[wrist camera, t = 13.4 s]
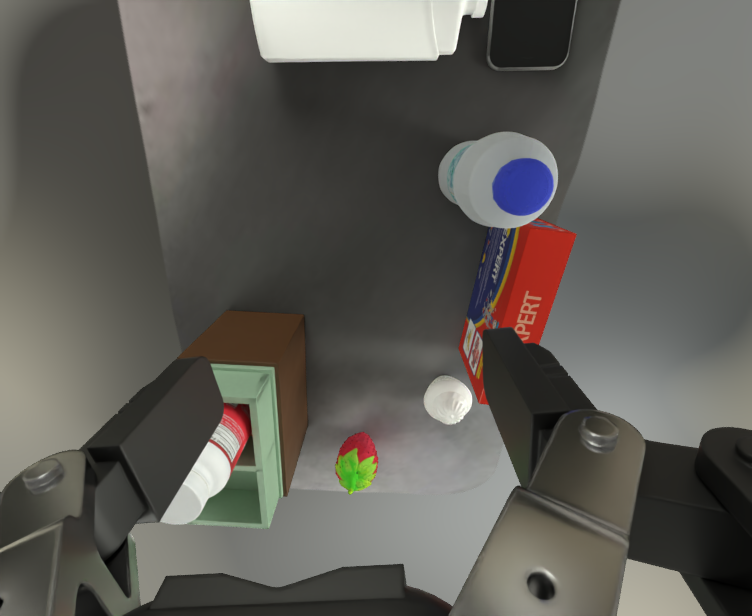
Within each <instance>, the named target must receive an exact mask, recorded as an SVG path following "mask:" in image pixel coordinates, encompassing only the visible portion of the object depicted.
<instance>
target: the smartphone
mask: <svg viewBox="0 0 752 616" xmlns="http://www.w3.org/2000/svg"><path fill="white" fill-rule="evenodd" d="M576 6H577V0H491V9H490V21H489V32H488V44H487V55H486V59H487V63H488V65H489V67H490V68H491V69H493V70H495V71H525V70H554V69H556V68H558V67H560V66H561V65H563V64H564V62H565V61H566V59H567V57H568V54H569V48H570V42H571V36H572V31H573V25H574V17H575V12H576Z"/></svg>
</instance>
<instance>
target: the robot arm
mask: <svg viewBox="0 0 752 616" xmlns="http://www.w3.org/2000/svg"><path fill="white" fill-rule="evenodd" d="M482 352H483V385H484V391H485V395H486V399H487V401H488V404H489V406H490V409H491V411H492V414H493V416H494V419H495V421H496V424H497V426H498V429H499V431H500V434H501V436H502V439H503V442H504V444H505V447H506V449H507V451H508V454H509V457H510V459H511V461H512V464H513V467H514V469H515V472H516V474H517V477H518V479H519V482H520V484H521V486H516V487H515V488H514V489H513V491H512V492H511V494H510V496H509V498H508V499H507V501H506V503H505V505H504V507H503V510H502V511H501V513H500V515H499V517H498V519H497V521H496V523H495V525H494V527H493V529H492V531H491V533H490V535H489V537H488V539H487V541H486V543H485V545H484V547H483V549H482V551H481V552H480V554H479V556H478V559H477V561H476V562H475V565H474V566H473V568H472V570H471V572H470V574H469V576H468V578H467V580H466V582H465V584H464V586H463V588H462V590H461V592H460V594H459V596H458V598H457V600H456V602H455V604H454V605H453V607H452V606H451V605H450V604H448V603H447V602H445V601H443V600H441V599H440V598H438V597H436V596H435V595H432V594H430V593H427V592H425V591H423V590H420V589H417V588H413V587H409V586H407V585H406V578H405V571H404V565H403V564H393V565H374V566H356V567H342V568H339V569H336V570H332V571H329V572H326V573H324V574H320V575H317V576H314V577H311V578H308V579H305V580H302V581H299V582H296V583H293V584H289V585H286V586H283V587H270V586H266V585H263V584H259V583H256V582H252V581H248V580H245V579H241V578H238V577H234V576H230V575H227V574H223V573H218V574H197V575H177V576H166V577H165V579H164V581H163V583H162V585H161V587H160V589H159V591H158V593H157V595H156V596H155V599H154V600H153V601H151V602H149V603H146V604H144V605H142V606H141V604H140V593H139V581H138V570H137V559H136V548H135V541H134V538H133V537H132V535H131V533H130V531H131V530H132V528H133V527H134V525H135V524H139V523H155V522H160V520H161V519H162V517H163V515H164V514H165V512H166V510H167V509H168V507H169V505H170V504H171V502H172V501H173V499H174V497H175V496H176V494H177V492H178V491H179V489H180V487H181V486H182V484H183V483H184V481H185V479H186V478H187V476H188V474H189V473H190V471H191V469H192V468H193V466H194V465H195V463H196V461H197V460H198V458H199V456H200V455H201V453H202V451H203V450H204V448H205V446H206V445H207V443H208V442H209V440H210V438H211V437H212V435H213V433H214V432H215V430H216V428H217V427H218V425H219V424H220V422H221V420H222V417H223V413H224V402H223V398H222V395H221V392H220V390H219V387H218V384H217V381H216V378H215V375H214V373H213V370H212V367H211V364H210V362H209V360H208V359H207V358H206V357H203V356H201V357H190V358H180V359H176V360H175V361H173V362H172V364H170V365H169V366H168V367H167V368H166V369H165V370H164V371H163V372H162V373H161V374H160V375H159V376H158V377H157V378H156V380H154V381H153V382H151V383H150V384H148V385H147V386H145V387H143V388H142V389H141V390H140V391H139V392H138V393H137V394H136V395H135V396H134V397H133V398H132V399H130V400H129V403H126V405H124V407H122V408H121V409H120V410H119V411H118V414H115V415H114V416H113V417H112V418H111V419H110V420H109V421H108V422H107V423H106V424H105V425H104V426H103V427H102V428H101V429H100V430H99V431H98V432H97V433H96V434H95V435H94V436H93V437H92V438H90V439H89V441H87V442H86V444H85V445H83V446H82V447H81V448H80V449H79V450H68V451H62V452H59V453H56V454H53V455H51V456H48V457H46V458H44V459H41V460H40V461H38V462H36V463H34V464H32V465H31V466H29V467H27V468H26V469H24V470H23V471H22V472H20V473H19V474H18V475H16V476H15V477H14V478H13V479H12V480H11V481H10V482H9V483H8V484H7V485H6V486H5V488H4V489H3V491H2V492H0V616H617V609H618V604H619V599H620V593H621V588H622V581H623V577H624V571H625V565H626V560H627V559H632V560H635V561H639V562H643V563H647V564H651V565H655V566H659V567H663V568H667V569H670V570H675V571H678V572H680V574H681V575H682V577H683V579H684V580H685V582H686V583H687V585H688V586H689V588H690V590H691V591H692V593H693V594H694V596H695V597H696V599H697V601H698V602H699V604H700V606H701V607H702V609H703V610H704V612H705V614H706V615H707V616H752V430H747V429H742V428H734V427H722V428H715V429H712V430H709V431H707V432H706V433H705V434H704V435H703V437H702V439H701V442H700V446H699V448H693V447H686V446H680V445H673V444H666V443H660V442H654V441H649V440H645V439H643V437H642V435H641V434H640V432H639V431H638V430H637V429H636V428H635V427H633V426H632V425H631V424H630V423H628V422H627V421H625V420H624V419H622V418H620V417H617V416H615V415H613V414H610V413H607V412H603V411H599V410H597V409H596V408H595V407H594V405H593V404H592V403H591V402H590V400H589V399H588V398H587V397H586V395H585V394H584V393H583V392H582V390H581V389H580V388H579V387H578V385H577V384H576V383H575V382H574V380H573V379H572V378H571V377H570V376H568V373H567V372H566V371H565V370H564V368H563V367H562V366H560V364H559V362H558V361H557V359H556V358H555V357H554V356H553V355H552V353H551V352H550V351H548V350H546V349H545V348H543V347H541V346H539V345H538V344H536V343H523V341H522V340H521V339H520V337H519V336H518V334H517V333H516V332H515V330H514V329H513V328H512V327H504V328H494V329H484V330H483V335H482Z"/></svg>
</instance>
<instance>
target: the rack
mask: <svg viewBox="0 0 752 616" xmlns="http://www.w3.org/2000/svg"><path fill="white" fill-rule="evenodd" d="M201 356H203V357H206V358H207V359H208V360H209V362H210V364H211V367H212V370H213V373H214V375H215V378H216V381H217V384H218V387H219V390H220V392H221V395H222V398H223V402H224V403H239V404H249V407H250V417H251V426H252V432H251V434H250V436H249V438H248V441H247V443H246V445H245V447H244V449H243V451H242V453H241V455H240V457H239V459H238V461H237V463H236V465H235V467H234V469H233V471H232V473H231V476H230V478H229V480H228V481H227V483H226V485H225V486H224V488H223V489H222V490H221V491H220V492H219V493H217V494H216V495H214V496H212V497H210V498H208V500H207V502H206V504H205V506H204V508H203V510H202V512H201V513H200V515H199V516H198V517H197V518H196V519H195V520H193V521H191V522H189V523H187V524H196V525H213V526H231V527H246V528H263V529H269V527H270V524H271V520H272V517H273V514H274V511H275V508H276V505H277V502H278V499H279V498H282V497H283V496H287V495H288V492H289V488H290V485H291V482H292V478H293V475H294V471H295V468H296V465H297V461H298V458H299V455H300V451H301V448H302V444H303V441H304V438H305V434H306V431H307V427H308V418H307V387H306V356H305V326H304V315H302V314H284V313H265V312H246V311H228V310H227V311H226V312H224V313H223V314H222V315H221V316H220V317H219V318H218V319H217V320H216V321H215V322H214V323H213V324H212V325H211V326H210V327H209V328H208V329H207V330H206V331H205V332H204V333H203V334H201V335H200V336H199V337H198V338H197V339H196V340H195V341H194V342H193V343H192V344H191V345H190V346H189V347H188V348H187V349H186V350H185V351H184V352H183V353H182V354H181V355H180V356H179V357H177V359H180V358H190V357H201Z"/></svg>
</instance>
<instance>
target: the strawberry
mask: <svg viewBox="0 0 752 616" xmlns="http://www.w3.org/2000/svg"><path fill="white" fill-rule="evenodd" d="M377 460H378V457H377V451H376V450H375V446H374V443H373V442H372V439H370V436H369V435H367V434H365V433H364V432H362V433H357V434H355V435H352V436H350V437H348V439H347V440H346V441H345V442H344V444H343V445H342V447H341V448H340V451H339V455H338V458H337V462H336V464H335V468H336V475H337V476H338V478H339V482H340V484H341V486H343V487H344V488H346V489H347V490H348V493H349V494H352V493H353V491H360V490H363V489H364V488H367V487H368V486H370V485H371V481H372V480H373V479H374V478H375V476H376V472H377V471H376V470H377V465H378V461H377Z"/></svg>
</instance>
